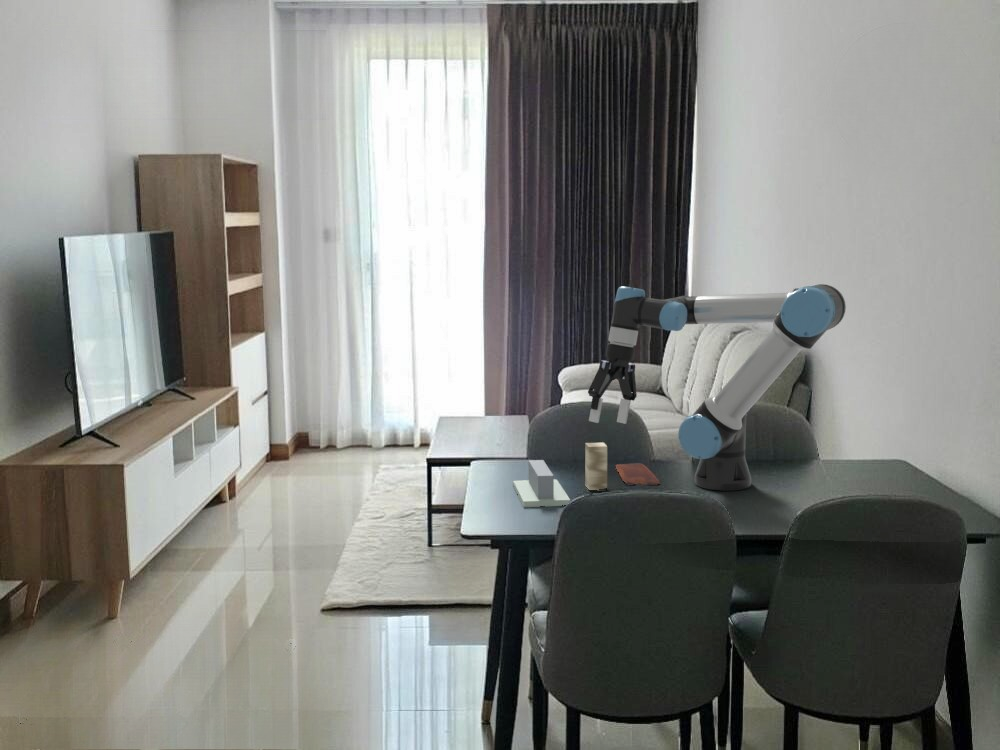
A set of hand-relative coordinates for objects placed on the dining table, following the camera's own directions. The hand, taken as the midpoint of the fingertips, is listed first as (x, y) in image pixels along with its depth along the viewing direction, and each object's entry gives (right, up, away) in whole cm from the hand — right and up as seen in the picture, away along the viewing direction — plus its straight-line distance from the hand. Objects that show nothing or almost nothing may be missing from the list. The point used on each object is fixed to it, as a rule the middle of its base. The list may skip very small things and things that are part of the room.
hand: (607, 422), depth 295 cm
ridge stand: (-18, -19, -6) cm, 27 cm away
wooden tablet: (+10, -16, +17) cm, 26 cm away
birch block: (-3, -18, +2) cm, 18 cm away
